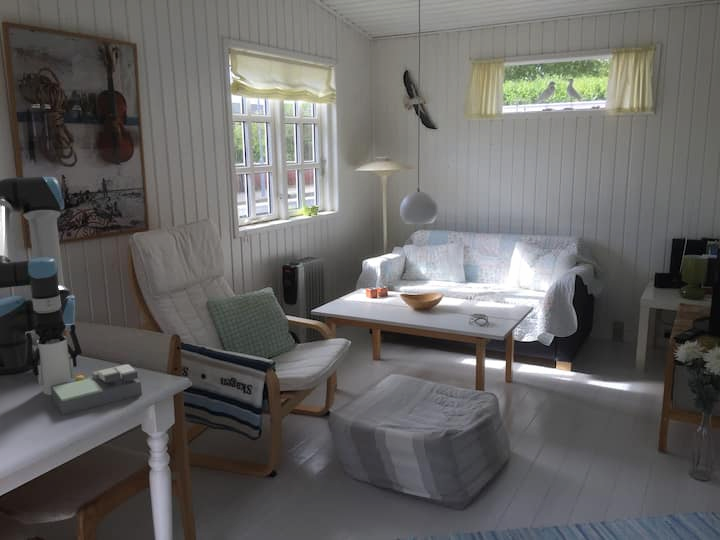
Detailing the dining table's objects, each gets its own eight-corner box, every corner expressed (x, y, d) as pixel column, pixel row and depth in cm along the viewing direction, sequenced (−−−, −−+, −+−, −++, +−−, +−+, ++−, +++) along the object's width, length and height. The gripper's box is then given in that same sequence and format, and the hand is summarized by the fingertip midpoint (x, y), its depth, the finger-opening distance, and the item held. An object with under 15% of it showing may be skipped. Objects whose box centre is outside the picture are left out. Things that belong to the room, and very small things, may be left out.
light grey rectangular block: (97, 371, 190) (105, 376, 184) (111, 367, 192) (119, 372, 186) (98, 377, 190) (106, 382, 184) (112, 374, 193) (120, 379, 186)
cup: (61, 395, 190) (54, 345, 186) (37, 393, 191) (30, 343, 188) (78, 384, 198) (72, 336, 194) (55, 383, 199) (48, 334, 196)
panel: (52, 398, 188) (49, 376, 186) (126, 379, 201) (124, 359, 200) (63, 414, 177) (60, 391, 176) (141, 394, 190) (139, 372, 189)
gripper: (10, 319, 180) (21, 393, 185) (88, 306, 192) (96, 376, 197) (6, 313, 185) (16, 385, 190) (81, 300, 198) (89, 369, 203)
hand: (56, 380), depth 194 cm, fingers closed on cup, 8 cm apart
